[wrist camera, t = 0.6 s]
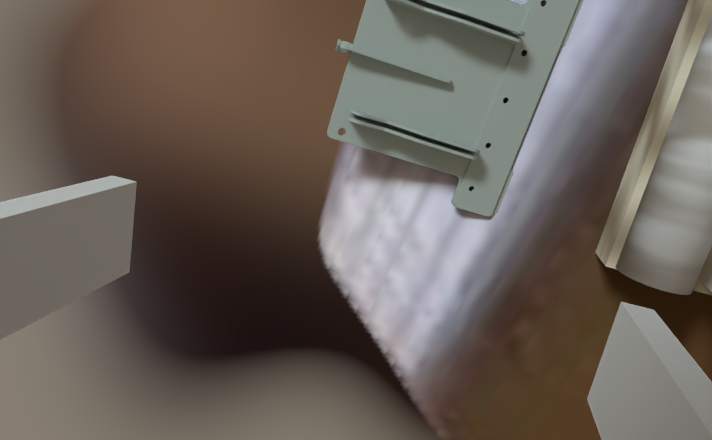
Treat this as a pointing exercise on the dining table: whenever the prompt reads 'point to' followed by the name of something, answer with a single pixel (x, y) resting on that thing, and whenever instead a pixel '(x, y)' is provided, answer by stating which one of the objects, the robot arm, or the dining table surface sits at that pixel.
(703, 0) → the hinge seat
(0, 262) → the robot arm
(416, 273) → the dining table surface
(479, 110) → the metal bracket
